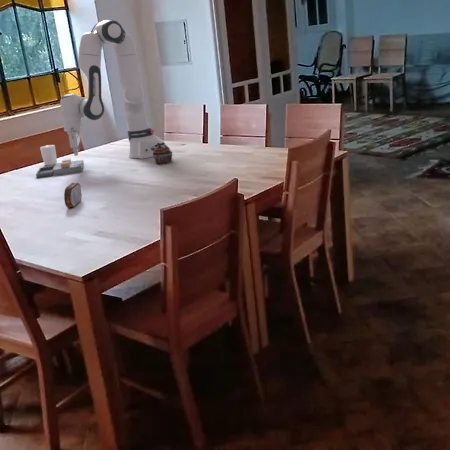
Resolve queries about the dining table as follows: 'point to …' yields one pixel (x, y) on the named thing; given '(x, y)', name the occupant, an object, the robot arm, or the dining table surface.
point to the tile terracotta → (65, 164)
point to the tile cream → (67, 160)
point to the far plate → (69, 168)
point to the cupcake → (162, 154)
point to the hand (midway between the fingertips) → (76, 153)
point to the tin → (72, 195)
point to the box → (45, 172)
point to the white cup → (49, 154)
